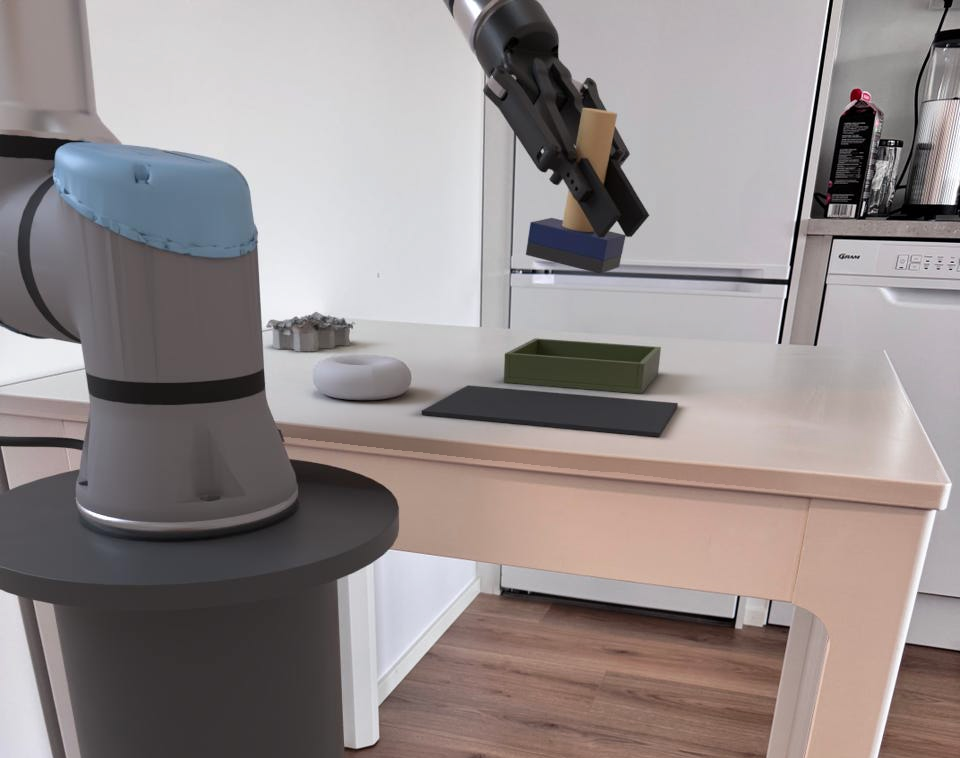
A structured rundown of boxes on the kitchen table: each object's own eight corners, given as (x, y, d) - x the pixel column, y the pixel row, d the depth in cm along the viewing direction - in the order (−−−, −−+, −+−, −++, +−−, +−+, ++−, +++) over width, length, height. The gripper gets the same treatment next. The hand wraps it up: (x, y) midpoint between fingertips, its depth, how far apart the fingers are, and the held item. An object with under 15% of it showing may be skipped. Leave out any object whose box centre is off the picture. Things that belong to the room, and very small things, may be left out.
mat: (421, 414, 88) (421, 410, 88) (467, 389, 100) (467, 385, 100) (658, 437, 82) (659, 432, 82) (677, 406, 94) (677, 402, 94)
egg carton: (305, 353, 119) (303, 319, 117) (262, 347, 123) (259, 314, 121) (360, 344, 127) (359, 312, 125) (318, 338, 131) (317, 307, 129)
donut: (378, 383, 103) (294, 389, 97) (378, 350, 101) (293, 354, 96) (430, 398, 96) (344, 406, 90) (431, 363, 94) (343, 369, 89)
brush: (525, 254, 92) (548, 102, 85) (546, 249, 96) (570, 103, 89) (600, 274, 89) (631, 118, 82) (619, 267, 93) (650, 118, 86)
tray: (503, 382, 104) (504, 353, 103) (533, 364, 116) (534, 338, 114) (641, 393, 100) (644, 363, 99) (658, 374, 112) (661, 346, 110)
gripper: (461, -20, 83) (586, 193, 79) (587, 5, 93) (705, 196, 89) (423, 55, 89) (539, 257, 85) (546, 71, 99) (655, 253, 95)
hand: (623, 225), depth 87 cm, fingers closed on brush, 3 cm apart
